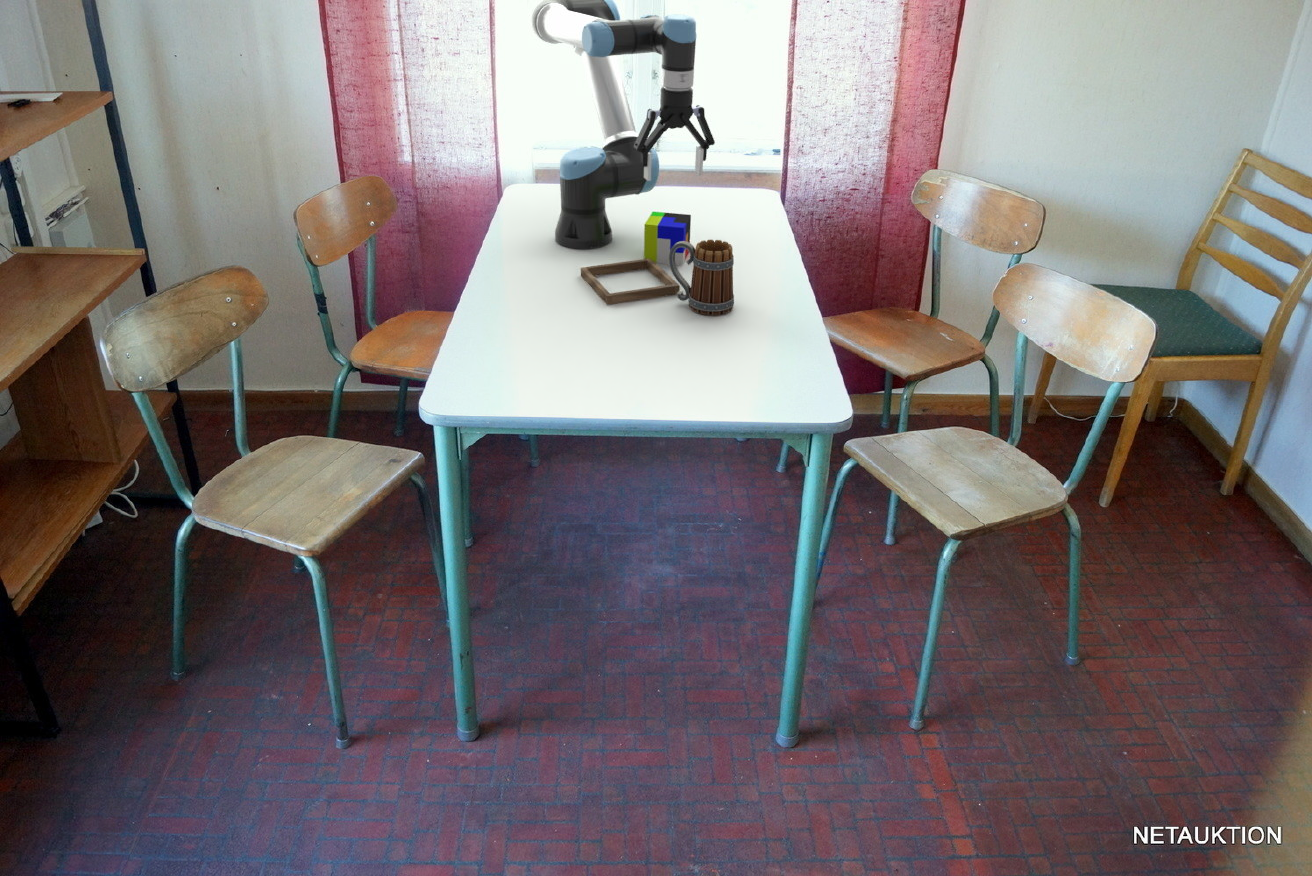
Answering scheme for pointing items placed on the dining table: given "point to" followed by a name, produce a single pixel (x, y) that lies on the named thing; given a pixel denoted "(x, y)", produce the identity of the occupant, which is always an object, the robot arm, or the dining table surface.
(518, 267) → the dining table surface
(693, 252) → the mug
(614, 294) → the square wooden frame
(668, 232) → the puzzle toy
